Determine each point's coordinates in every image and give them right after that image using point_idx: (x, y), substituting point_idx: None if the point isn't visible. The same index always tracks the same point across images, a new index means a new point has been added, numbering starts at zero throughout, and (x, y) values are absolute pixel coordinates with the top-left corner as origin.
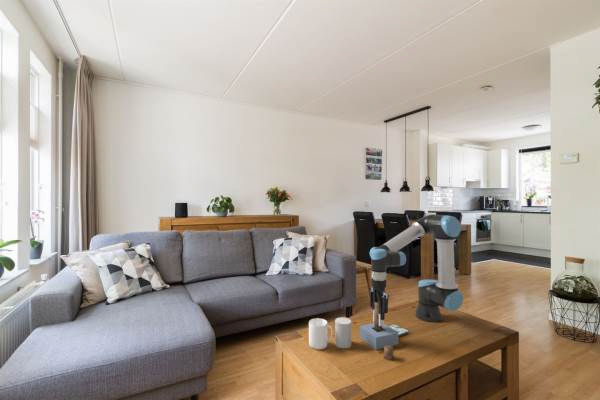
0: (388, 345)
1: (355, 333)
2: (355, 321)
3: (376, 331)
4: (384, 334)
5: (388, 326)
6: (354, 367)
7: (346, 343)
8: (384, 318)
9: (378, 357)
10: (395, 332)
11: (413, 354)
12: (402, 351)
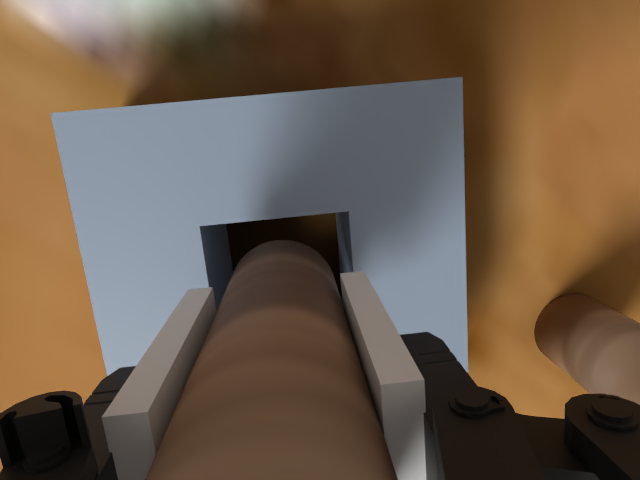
0: (609, 357)
1: (82, 394)
2: None
3: (218, 259)
4: (438, 297)
5: (245, 98)
6: None
7: None
8: (444, 344)
9: (531, 400)
10: (446, 120)
11: (623, 76)
12: (539, 145)
